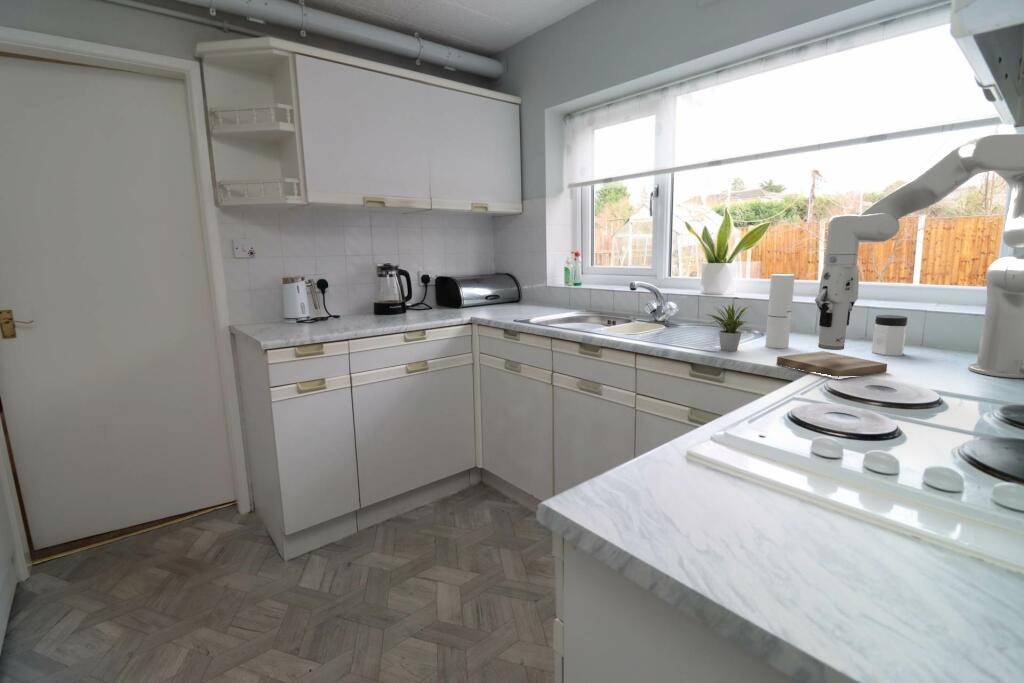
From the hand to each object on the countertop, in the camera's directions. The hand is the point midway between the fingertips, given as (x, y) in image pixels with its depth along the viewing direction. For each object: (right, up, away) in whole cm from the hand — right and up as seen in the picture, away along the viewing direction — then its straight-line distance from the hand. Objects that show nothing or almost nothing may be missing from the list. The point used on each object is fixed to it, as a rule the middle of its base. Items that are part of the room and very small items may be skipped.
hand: (833, 325), depth 141 cm
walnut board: (0, -12, +2) cm, 13 cm away
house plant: (-16, -7, +31) cm, 36 cm away
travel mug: (0, -7, +1) cm, 7 cm away
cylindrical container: (+2, -6, +35) cm, 35 cm away
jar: (+31, -9, +22) cm, 39 cm away
